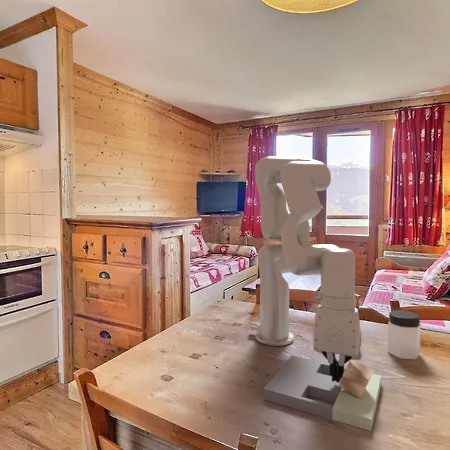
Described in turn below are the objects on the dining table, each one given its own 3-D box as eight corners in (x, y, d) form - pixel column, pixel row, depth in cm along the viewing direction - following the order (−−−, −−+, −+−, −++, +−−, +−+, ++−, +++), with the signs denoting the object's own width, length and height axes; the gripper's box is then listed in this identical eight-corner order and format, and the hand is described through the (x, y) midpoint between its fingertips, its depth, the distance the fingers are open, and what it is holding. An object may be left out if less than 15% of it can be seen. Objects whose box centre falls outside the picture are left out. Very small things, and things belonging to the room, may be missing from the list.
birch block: (338, 385, 78) (346, 366, 76) (344, 376, 82) (352, 358, 80) (360, 398, 75) (368, 379, 74) (365, 388, 79) (373, 370, 78)
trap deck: (263, 399, 79) (263, 388, 79) (291, 364, 97) (291, 355, 96) (371, 431, 68) (371, 418, 68) (381, 385, 85) (381, 375, 85)
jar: (392, 345, 109) (393, 308, 109) (421, 352, 104) (422, 313, 103) (384, 354, 103) (385, 315, 102) (415, 362, 97) (416, 321, 97)
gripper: (300, 301, 80) (300, 378, 81) (370, 310, 73) (368, 395, 73) (310, 294, 87) (309, 366, 87) (374, 302, 79) (373, 380, 80)
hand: (336, 379), depth 80 cm, fingers closed
